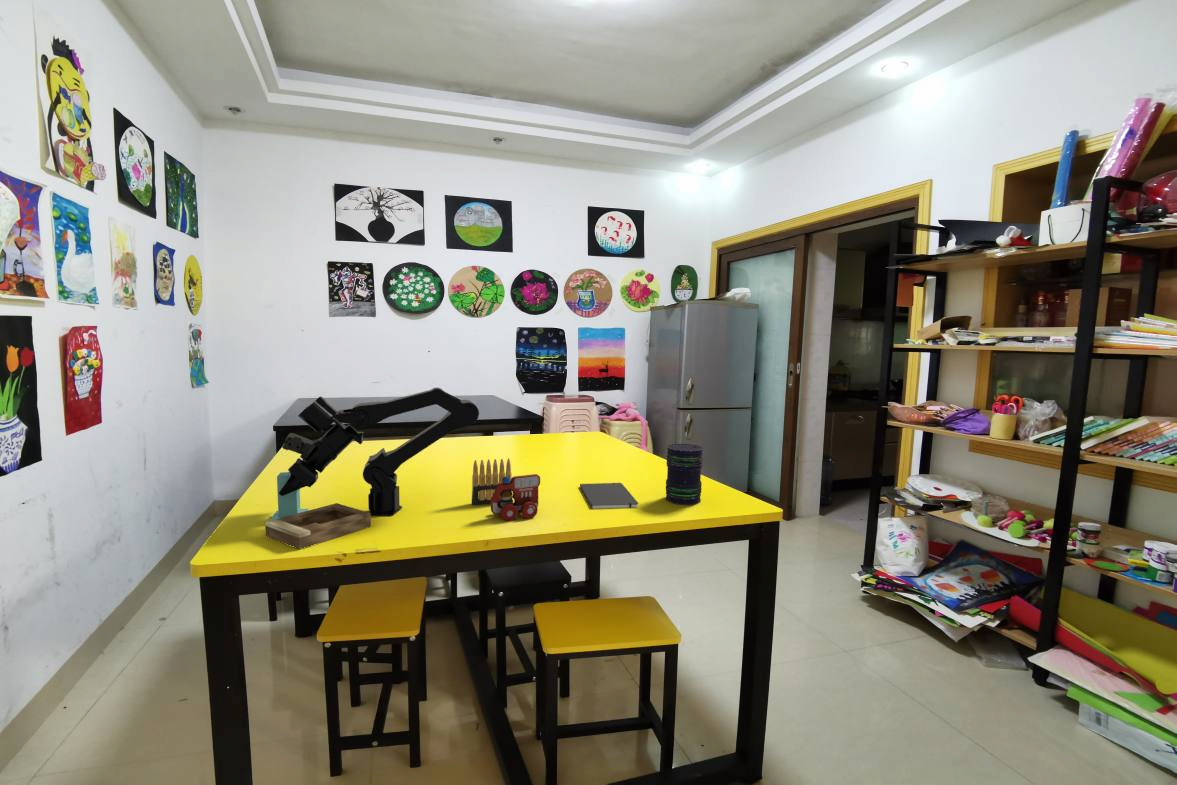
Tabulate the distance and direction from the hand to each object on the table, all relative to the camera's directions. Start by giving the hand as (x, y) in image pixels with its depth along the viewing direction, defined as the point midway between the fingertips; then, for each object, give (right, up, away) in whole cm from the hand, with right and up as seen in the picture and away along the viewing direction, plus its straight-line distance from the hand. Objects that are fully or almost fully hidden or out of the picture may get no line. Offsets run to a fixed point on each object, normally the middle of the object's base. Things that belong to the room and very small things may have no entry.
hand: (282, 492), depth 132 cm
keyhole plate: (+12, -8, -7) cm, 16 cm away
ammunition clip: (+47, -6, +17) cm, 50 cm away
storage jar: (+99, -6, +23) cm, 102 cm away
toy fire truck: (+55, -7, +6) cm, 55 cm away
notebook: (+78, -6, +25) cm, 82 cm away
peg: (+1, -7, +1) cm, 7 cm away
